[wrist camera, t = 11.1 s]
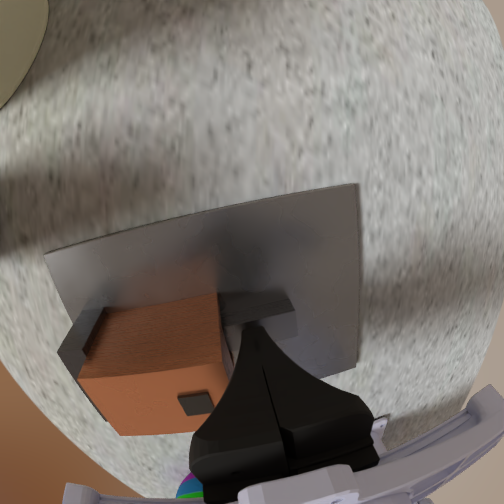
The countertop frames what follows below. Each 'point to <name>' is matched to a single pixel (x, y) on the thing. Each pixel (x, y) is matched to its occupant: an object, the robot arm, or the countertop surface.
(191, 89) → the countertop surface
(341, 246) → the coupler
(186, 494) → the decorative egg
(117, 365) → the orange block
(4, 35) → the can
